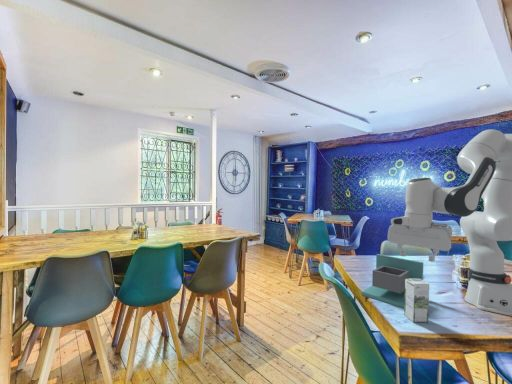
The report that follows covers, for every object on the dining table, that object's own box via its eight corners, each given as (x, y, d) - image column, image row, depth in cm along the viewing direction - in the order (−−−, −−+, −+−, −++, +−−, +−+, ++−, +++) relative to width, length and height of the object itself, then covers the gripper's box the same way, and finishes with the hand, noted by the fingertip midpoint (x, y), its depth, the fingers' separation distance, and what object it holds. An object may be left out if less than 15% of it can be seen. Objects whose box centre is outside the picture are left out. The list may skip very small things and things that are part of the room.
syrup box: (418, 315, 102) (419, 277, 102) (428, 323, 96) (429, 283, 96) (403, 315, 102) (404, 277, 102) (413, 323, 96) (414, 283, 96)
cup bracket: (423, 297, 119) (423, 262, 119) (410, 309, 107) (410, 270, 107) (377, 285, 134) (378, 253, 134) (361, 294, 121) (362, 260, 121)
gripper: (454, 223, 93) (452, 263, 93) (392, 218, 108) (391, 252, 108) (450, 225, 89) (448, 266, 89) (386, 219, 104) (385, 254, 104)
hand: (416, 258), depth 99 cm, fingers open, 8 cm apart
